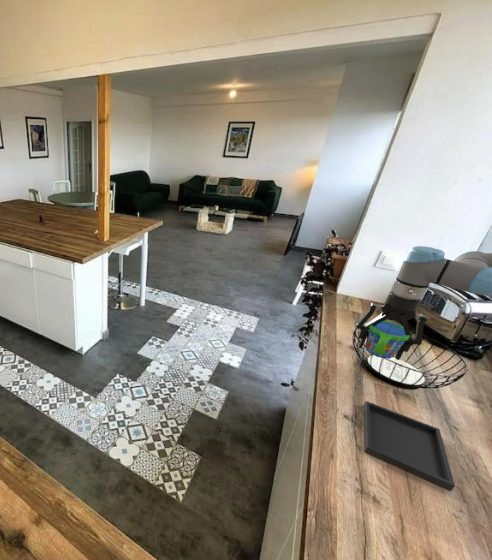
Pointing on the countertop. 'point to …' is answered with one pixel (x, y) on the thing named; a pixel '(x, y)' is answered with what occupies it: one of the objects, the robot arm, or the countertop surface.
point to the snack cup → (385, 339)
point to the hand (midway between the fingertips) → (378, 351)
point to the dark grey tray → (406, 444)
